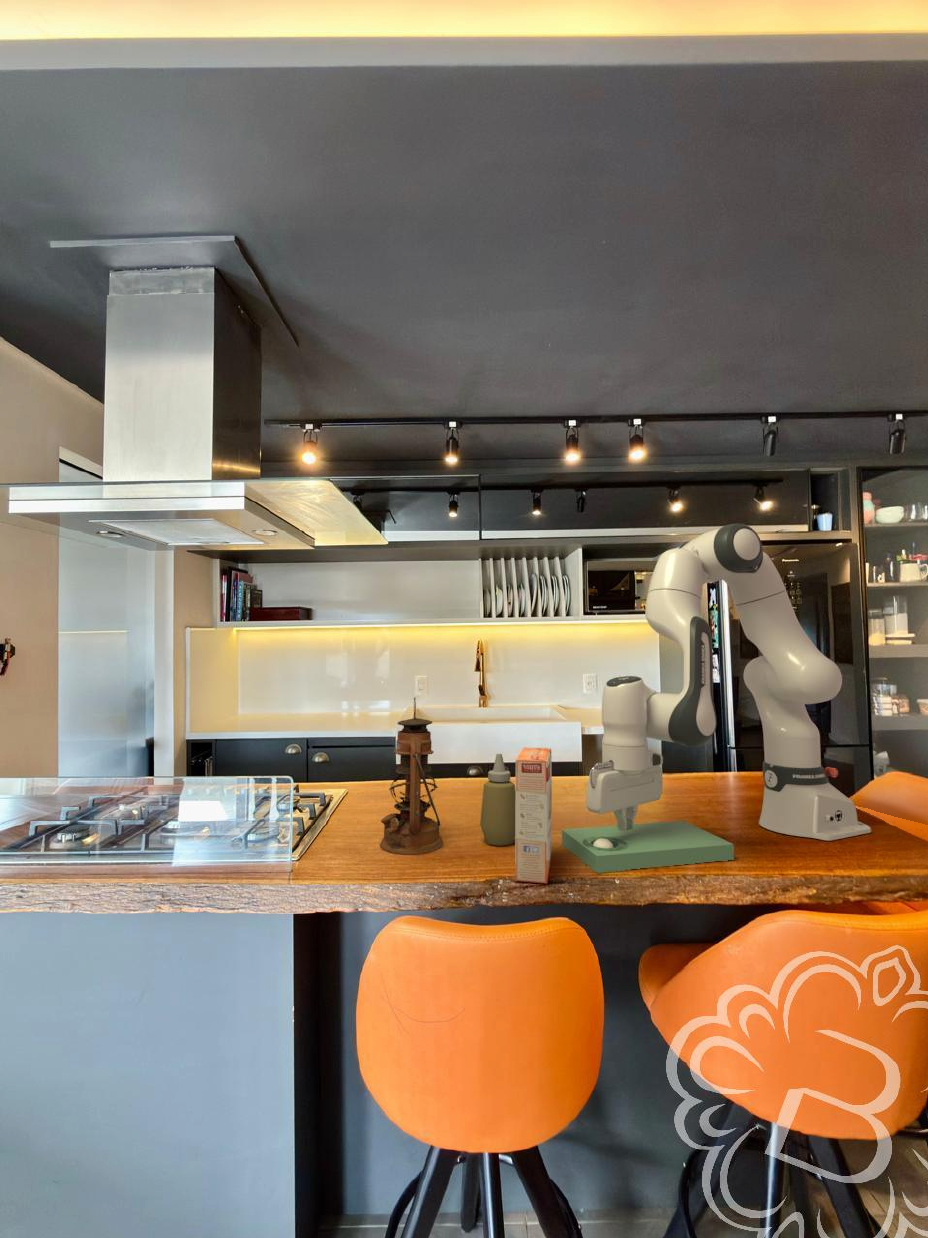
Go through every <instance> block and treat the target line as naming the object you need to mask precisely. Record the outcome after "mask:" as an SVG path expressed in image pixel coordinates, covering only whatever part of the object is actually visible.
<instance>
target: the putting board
mask: <svg viewBox="0 0 928 1238" xmlns="http://www.w3.org/2000/svg"><path fill="white" fill-rule="evenodd" d="M600 838H604V839H607V840H609V841H610V842H611V843H612V845H613V847H614V848H600V847H596V846H593V844H594V842H595V841H596V840H598V839H600ZM561 845H562V846H563V847H564V848H566V849H567V850H568V851H569V852H571V853H572V854H573V855H574V856H575V855H576V856H575V857H577V856H578V857H579V858H580V859H581V860H580V859H579V858H578V857H577V858H578V859H579V860H580V861H581V862H582V863H584V864H585V865H586V864H587V865H586V866H588V867H589V868H590V869H591V870H592V871H594V872H595V873H596V874H604V873H605V872H606V873H614V872H615V873H616V871H617V872H624V871H625V870H627V871H632V870H631V869H638V870H641V869H640V868H647V867H658V866H670V867H672V866H671V865H681V866H685V865H684V864H691V865H696V864H695V863H702V864H704V863H703V862H713V863H715V862H714V861H723V862H729V861H728V860H734V861H735V846H734V845H735V844H733V842H729V841H727V840H726V839H723V838H721V837H719V836H717V835H715V834H712V833H711V832H708V831H706V830H704V829H702V828H700V827H697V826H696V825H693V824H692V823H689V822H687V821H685V820H675V821H673V820H672V821H660V822H645V823H634V828H633V829H629V830H626V831H621V830H619V829H618V824H617V825H605V826H593V827H592V826H589V827H579V828H578V827H577V828H565V829H563V828H562V829H561ZM606 873H605V874H606Z"/></svg>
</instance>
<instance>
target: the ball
mask: <svg viewBox="0 0 928 1238" xmlns="http://www.w3.org/2000/svg"><path fill="white" fill-rule="evenodd" d="M593 846H596V847H600V848H614V847H613V845H612V843H611V842H610V841H609V840H607V839H604V838H600V839H598V840H596V841H595V842H594V844H593Z"/></svg>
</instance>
